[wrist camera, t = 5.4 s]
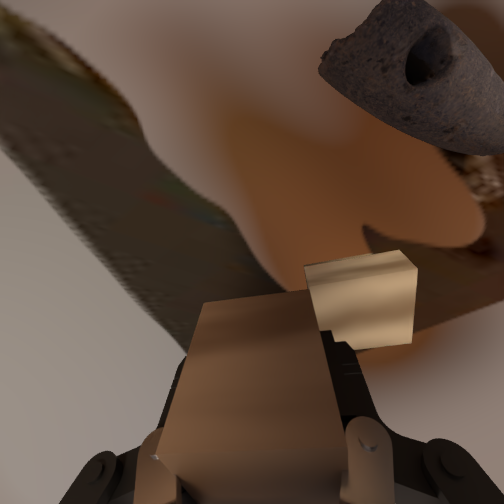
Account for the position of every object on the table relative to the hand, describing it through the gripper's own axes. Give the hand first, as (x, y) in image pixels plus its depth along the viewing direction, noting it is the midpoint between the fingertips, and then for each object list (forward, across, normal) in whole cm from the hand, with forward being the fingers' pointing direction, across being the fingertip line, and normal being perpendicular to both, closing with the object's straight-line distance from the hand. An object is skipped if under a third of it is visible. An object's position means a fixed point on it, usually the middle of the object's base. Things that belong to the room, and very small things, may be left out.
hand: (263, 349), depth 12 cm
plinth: (+16, -8, +11) cm, 21 cm away
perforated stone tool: (+16, -13, -8) cm, 22 cm away
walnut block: (+1, 0, 0) cm, 1 cm away
